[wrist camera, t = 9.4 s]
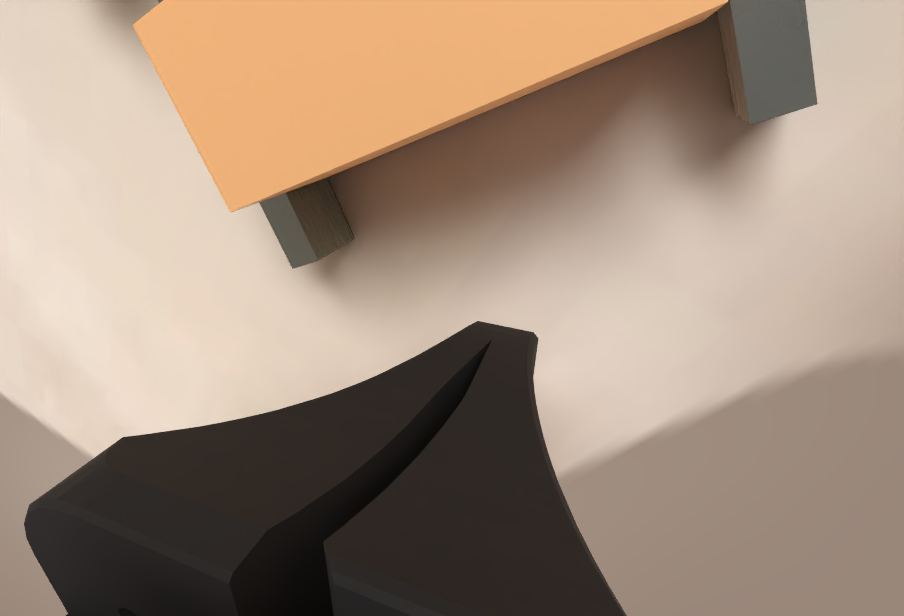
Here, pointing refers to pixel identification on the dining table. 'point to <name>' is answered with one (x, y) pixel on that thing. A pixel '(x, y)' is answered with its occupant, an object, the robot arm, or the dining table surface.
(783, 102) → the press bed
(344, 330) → the dining table surface
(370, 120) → the press ram
